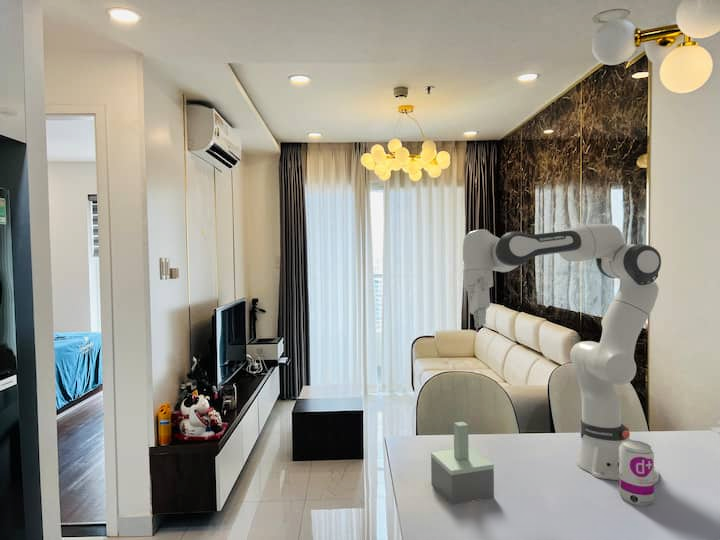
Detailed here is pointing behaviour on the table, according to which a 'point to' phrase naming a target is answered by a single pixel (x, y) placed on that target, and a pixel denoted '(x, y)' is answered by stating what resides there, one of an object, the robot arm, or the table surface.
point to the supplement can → (636, 472)
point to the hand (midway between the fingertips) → (480, 326)
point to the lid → (461, 454)
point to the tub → (462, 484)
